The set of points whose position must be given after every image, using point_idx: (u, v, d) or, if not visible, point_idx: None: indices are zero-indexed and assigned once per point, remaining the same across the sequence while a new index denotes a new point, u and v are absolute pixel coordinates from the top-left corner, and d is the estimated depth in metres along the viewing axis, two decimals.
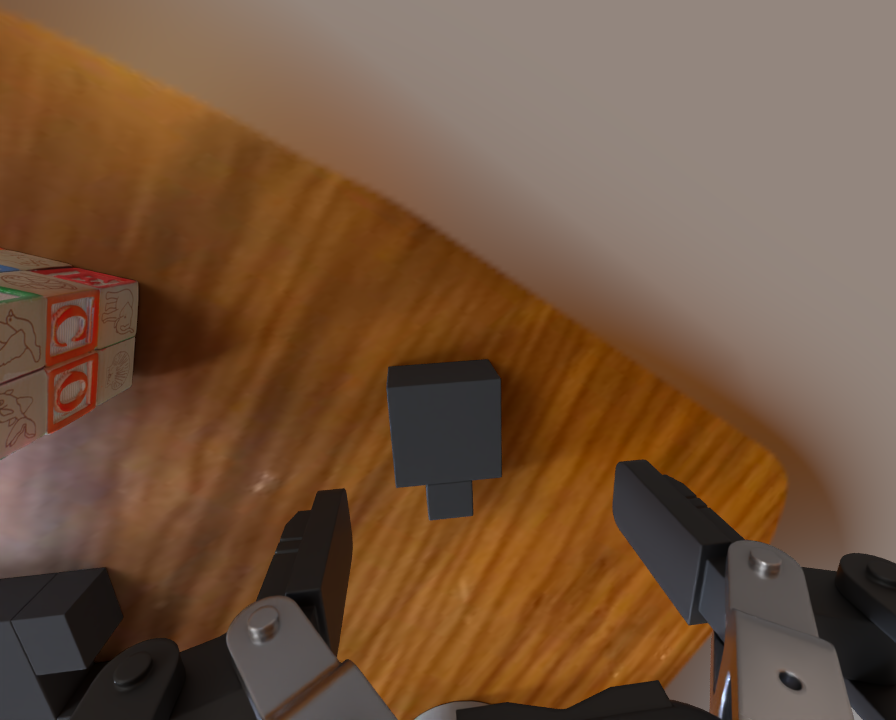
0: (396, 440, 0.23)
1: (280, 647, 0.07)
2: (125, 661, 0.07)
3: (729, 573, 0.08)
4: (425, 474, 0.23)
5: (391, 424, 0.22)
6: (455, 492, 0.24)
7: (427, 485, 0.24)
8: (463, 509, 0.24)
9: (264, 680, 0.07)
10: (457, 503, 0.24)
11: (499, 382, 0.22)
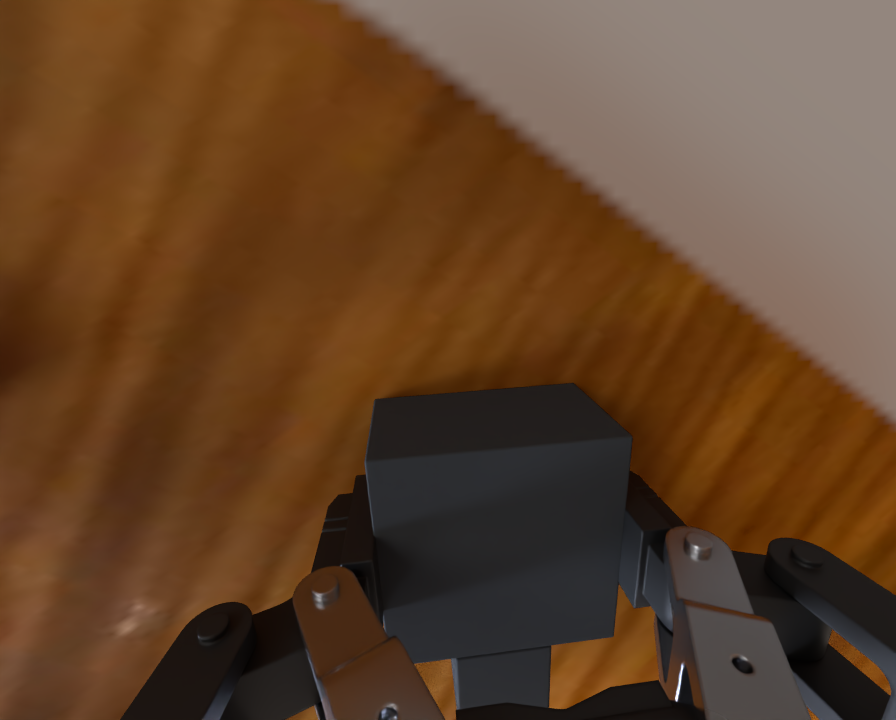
0: (390, 574, 0.10)
1: (337, 613, 0.08)
2: (207, 620, 0.07)
3: (670, 562, 0.08)
4: (453, 639, 0.11)
5: (377, 542, 0.10)
6: (514, 670, 0.11)
7: (456, 659, 0.11)
8: (530, 699, 0.12)
9: (334, 637, 0.07)
10: (519, 688, 0.12)
11: (629, 445, 0.10)
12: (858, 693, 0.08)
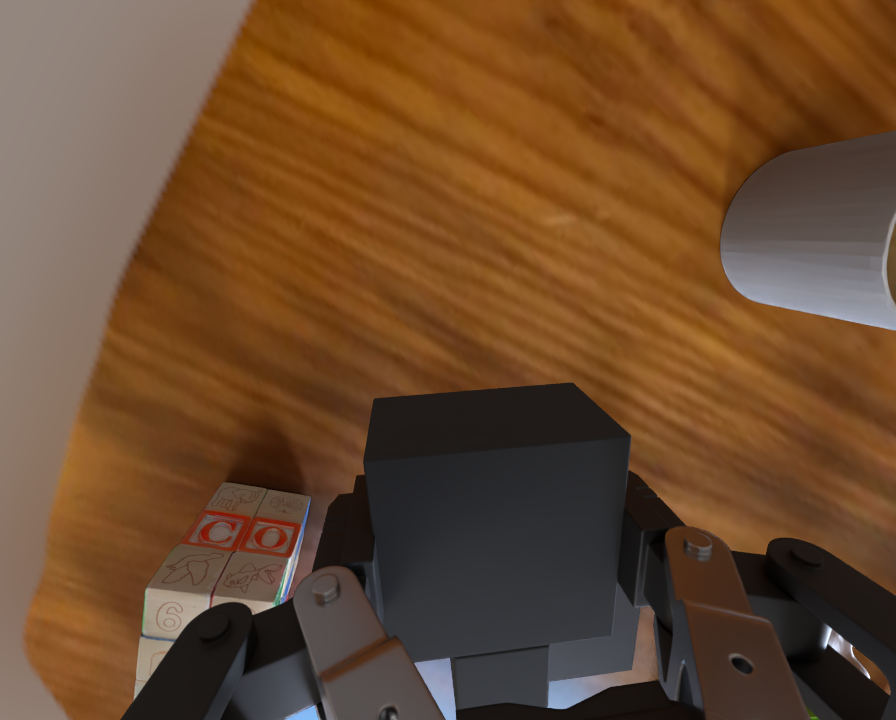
0: (389, 574, 0.10)
1: (337, 613, 0.08)
2: (208, 619, 0.07)
3: (669, 562, 0.08)
4: (452, 638, 0.11)
5: (376, 541, 0.10)
6: (513, 669, 0.11)
7: (455, 658, 0.11)
8: (529, 698, 0.12)
9: (335, 636, 0.07)
10: (518, 687, 0.12)
11: (628, 444, 0.10)
12: (857, 693, 0.08)
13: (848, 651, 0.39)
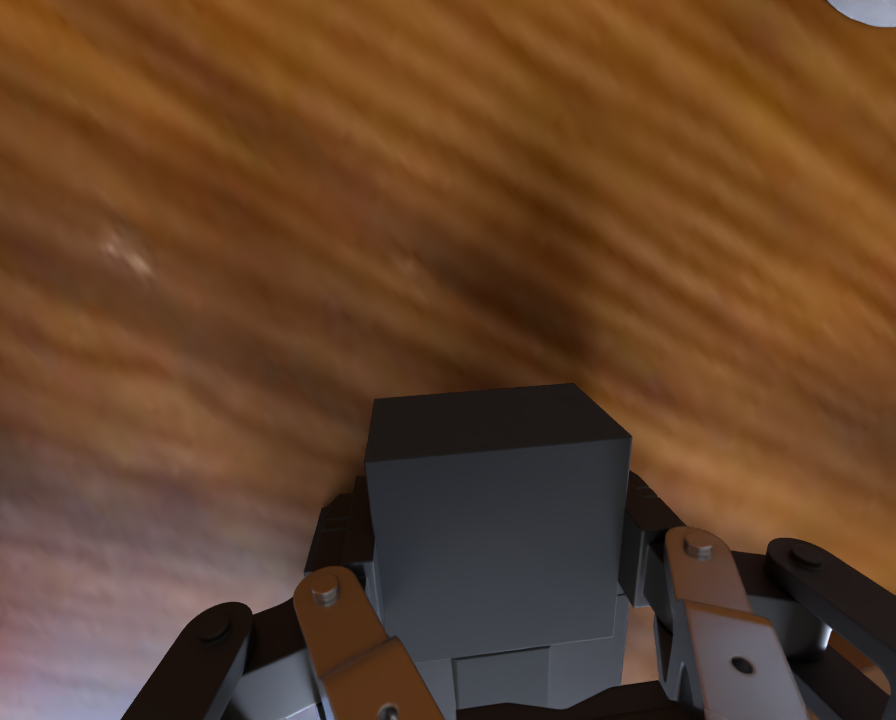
0: (390, 574, 0.10)
1: (337, 613, 0.08)
2: (208, 619, 0.07)
3: (669, 562, 0.08)
4: (452, 639, 0.11)
5: (377, 541, 0.10)
6: (514, 670, 0.11)
7: (456, 658, 0.11)
8: (530, 699, 0.12)
9: (335, 637, 0.07)
10: (518, 688, 0.12)
11: (629, 445, 0.10)
12: (857, 693, 0.08)
13: None
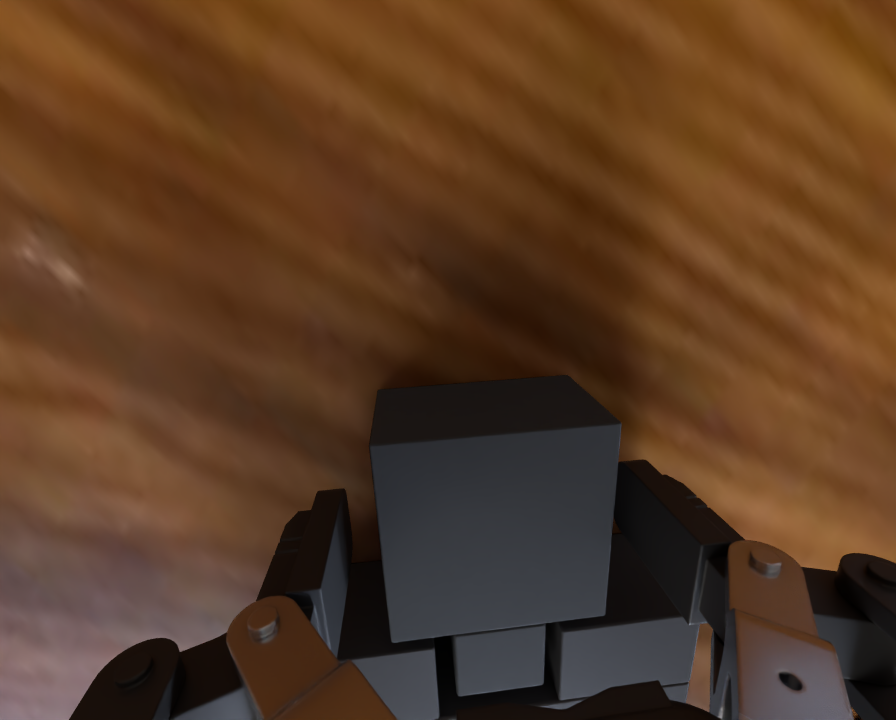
0: (392, 553, 0.11)
1: (279, 647, 0.07)
2: (125, 661, 0.07)
3: (729, 573, 0.08)
4: (452, 616, 0.11)
5: (381, 521, 0.10)
6: (510, 647, 0.12)
7: (455, 635, 0.12)
8: (525, 675, 0.12)
9: (264, 680, 0.07)
10: (515, 664, 0.12)
11: (618, 431, 0.10)
12: None
13: None
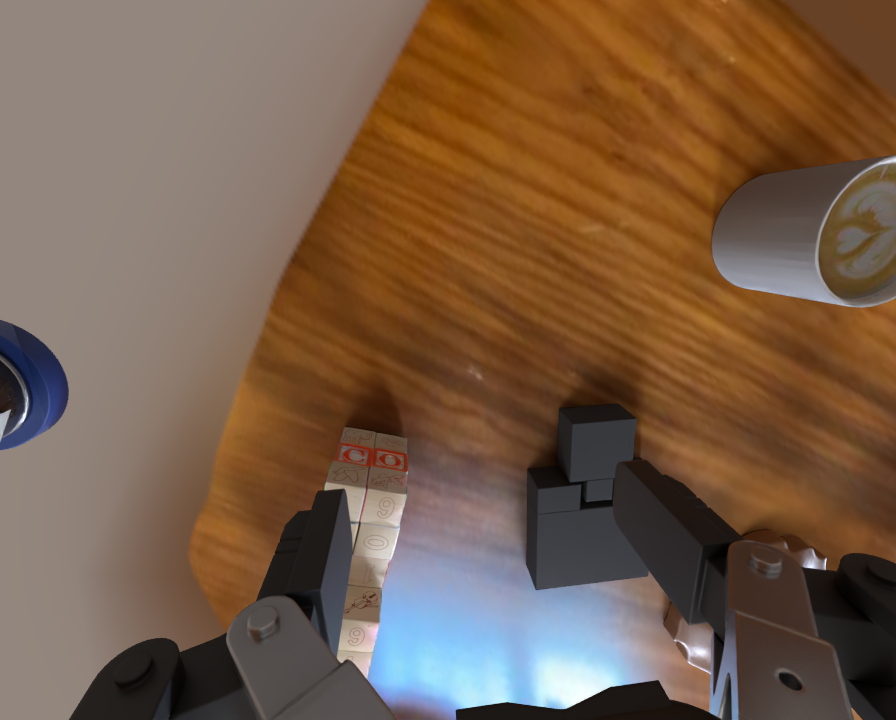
0: (574, 454, 0.39)
1: (279, 647, 0.07)
2: (126, 661, 0.07)
3: (729, 573, 0.08)
4: (587, 474, 0.40)
5: (572, 445, 0.38)
6: (602, 485, 0.40)
7: (587, 480, 0.40)
8: (606, 495, 0.40)
9: (264, 680, 0.07)
10: (603, 491, 0.40)
11: (635, 420, 0.38)
12: None
13: (822, 568, 0.48)
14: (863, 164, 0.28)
